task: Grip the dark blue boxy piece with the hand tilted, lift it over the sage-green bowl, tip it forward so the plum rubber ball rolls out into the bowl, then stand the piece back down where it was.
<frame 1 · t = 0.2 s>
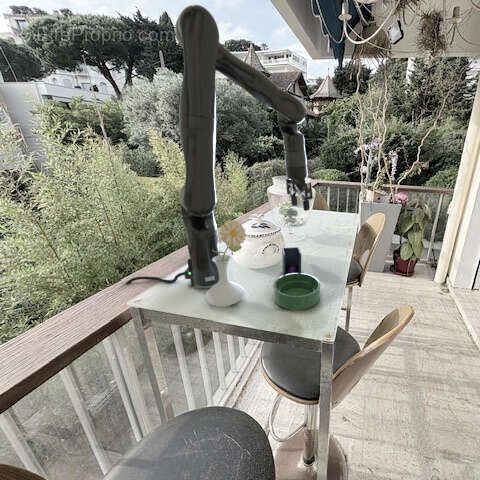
hand: (300, 207, 101), 22 cm above the table, tool pointing down, fingers open, 8 cm apart
ball: (291, 270, 95), point 2 cm above the table, touching dark blue boxy piece
bowl: (297, 297, 83), on the table
flower in vase: (228, 299, 81), on the table
dark blue boxy piece: (291, 275, 96), on the table, touching ball
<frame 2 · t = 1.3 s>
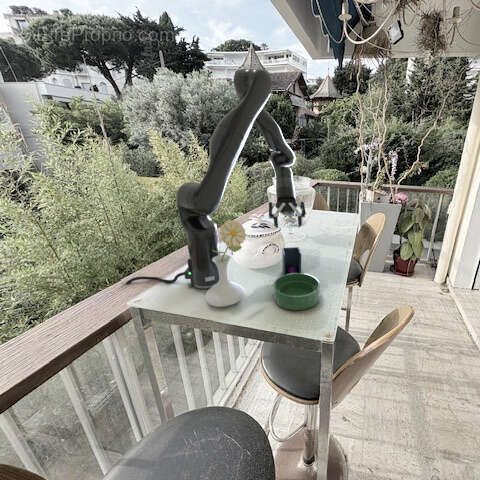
hand: (288, 226, 101), 15 cm above the table, tool tilted 45°, fingers open, 8 cm apart
nothing on the table moved.
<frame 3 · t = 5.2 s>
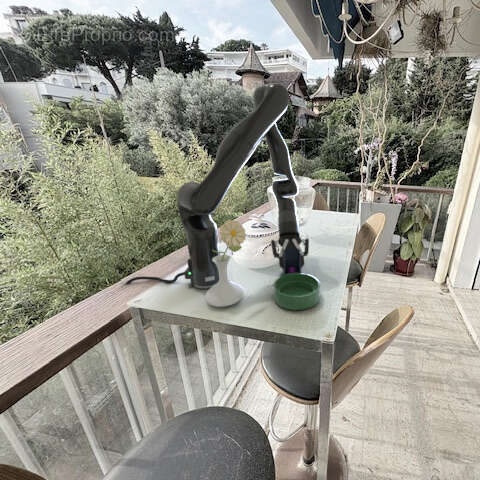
hand: (292, 267, 93), 4 cm above the table, tool tilted 45°, fingers closed on dark blue boxy piece, 6 cm apart
ball: (291, 271, 95), point 2 cm above the table, tilted 9°, touching dark blue boxy piece
dark blue boxy piece: (291, 275, 96), on the table, touching ball, gripper
everything else where it was.
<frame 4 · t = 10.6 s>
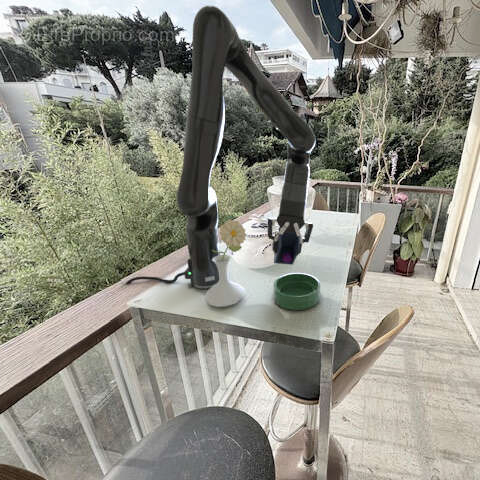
hand: (286, 253, 81), 14 cm above the table, tool pointing down, fingers closed on dark blue boxy piece, 6 cm apart
ball: (287, 257, 83), point 12 cm above the table, tilted 106°, touching dark blue boxy piece
dark blue boxy piece: (283, 255, 86), point 11 cm above the table, tilted 38°, touching ball, gripper
everything else where it was.
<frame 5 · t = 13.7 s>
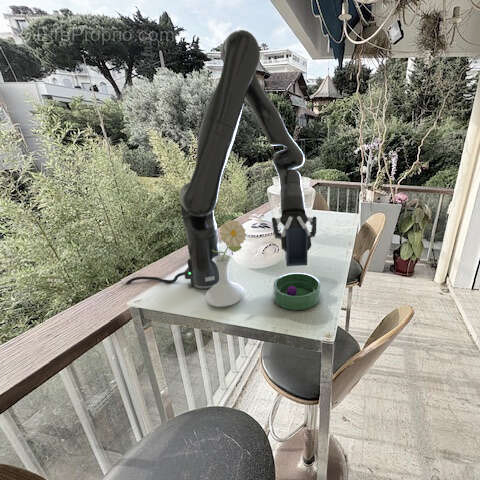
hand: (296, 249, 78), 16 cm above the table, tool tilted 45°, fingers closed on dark blue boxy piece, 6 cm apart
ball: (291, 291, 83), point 2 cm above the table, tilted 79°, touching bowl
dark blue boxy piece: (295, 261, 81), point 12 cm above the table, touching gripper
everything else where it was.
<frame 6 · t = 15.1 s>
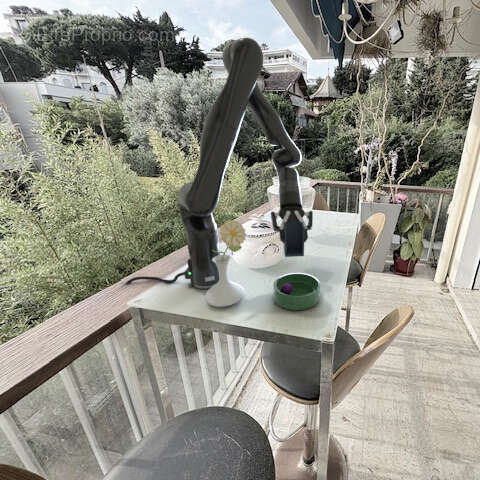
hand: (294, 241, 83), 16 cm above the table, tool tilted 45°, fingers closed on dark blue boxy piece, 6 cm apart
ball: (287, 289, 84), point 2 cm above the table, tilted 145°, touching bowl
dark blue boxy piece: (293, 252, 87), point 12 cm above the table, touching gripper
everything else where it was.
when the fingers open (5 cm above the table, at t = 19.6 s): dark blue boxy piece stays where it is, on the table.
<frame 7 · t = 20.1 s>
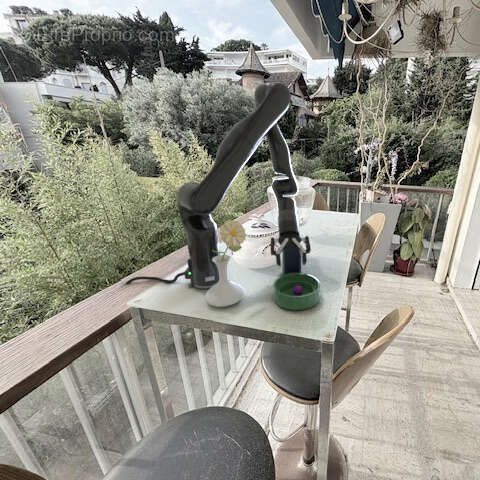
hand: (292, 265, 93), 5 cm above the table, tool tilted 45°, fingers open, 8 cm apart
ball: (297, 290, 83), point 2 cm above the table, tilted 38°, touching bowl
dark blue boxy piece: (291, 275, 96), on the table
everything else where it was.
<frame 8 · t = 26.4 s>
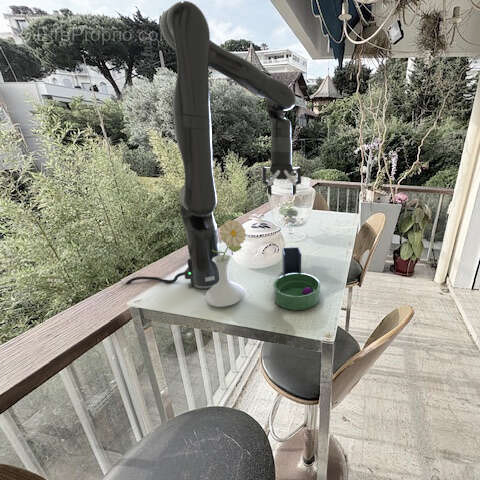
hand: (281, 195, 101), 26 cm above the table, tool pointing down, fingers open, 8 cm apart
ball: (307, 292, 82), point 2 cm above the table, tilted 84°, touching bowl
everything else where it was.
at the end: ball inside the target area in the bowl (3.2 cm from its centre), point 2.2 cm above the bowl's base; dark blue boxy piece tilted 0°; the gripper is holding nothing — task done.
